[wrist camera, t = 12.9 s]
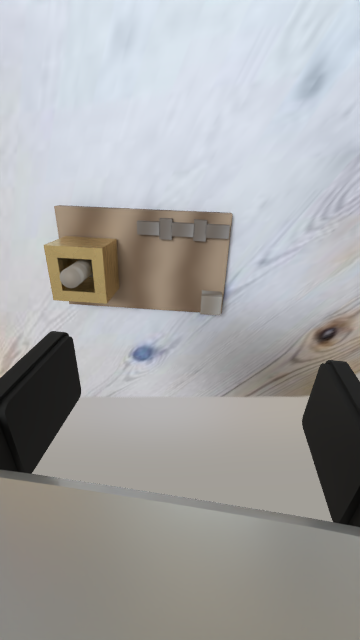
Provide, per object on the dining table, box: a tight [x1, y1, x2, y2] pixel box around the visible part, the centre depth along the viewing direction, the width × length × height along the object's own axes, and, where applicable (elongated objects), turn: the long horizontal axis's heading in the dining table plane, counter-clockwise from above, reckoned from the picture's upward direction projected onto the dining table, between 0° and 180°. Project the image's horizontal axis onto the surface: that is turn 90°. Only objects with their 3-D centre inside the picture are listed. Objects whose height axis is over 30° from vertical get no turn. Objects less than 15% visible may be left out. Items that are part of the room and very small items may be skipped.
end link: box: [44, 236, 119, 304], centre depth 32 cm, size 6×6×5 cm
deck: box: [54, 205, 232, 315], centre depth 31 cm, size 20×12×8 cm, turn 88°
